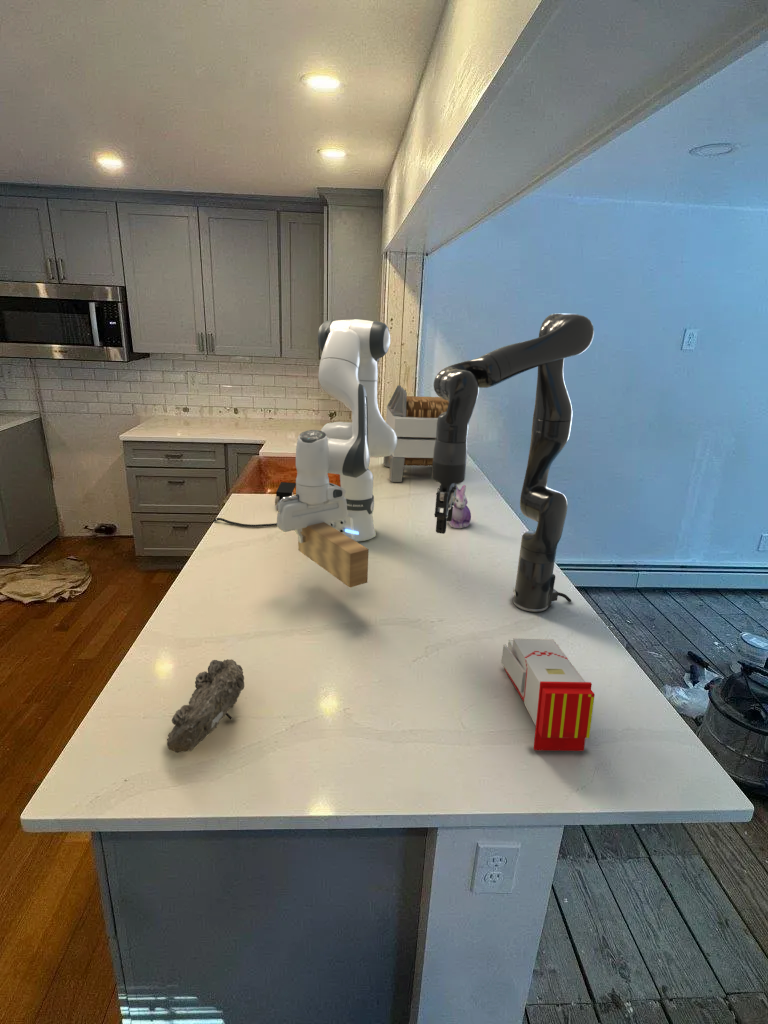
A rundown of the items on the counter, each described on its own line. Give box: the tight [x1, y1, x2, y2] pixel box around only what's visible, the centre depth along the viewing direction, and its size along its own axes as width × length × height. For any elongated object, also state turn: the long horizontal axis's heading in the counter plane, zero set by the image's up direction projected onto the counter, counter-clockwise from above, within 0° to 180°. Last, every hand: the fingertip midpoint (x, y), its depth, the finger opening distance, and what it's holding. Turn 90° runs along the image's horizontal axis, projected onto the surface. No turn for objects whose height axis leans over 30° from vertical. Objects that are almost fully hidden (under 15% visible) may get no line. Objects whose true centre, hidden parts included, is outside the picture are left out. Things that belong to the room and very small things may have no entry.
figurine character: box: [274, 481, 296, 506], centre depth 222 cm, size 7×8×15 cm
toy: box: [500, 637, 595, 752], centre depth 114 cm, size 12×13×30 cm
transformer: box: [383, 384, 449, 483], centre depth 268 cm, size 34×33×41 cm
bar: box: [297, 522, 369, 589], centre depth 149 cm, size 26×5×9 cm, turn 37°
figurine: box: [448, 484, 472, 529], centre depth 208 cm, size 9×10×15 cm
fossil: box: [166, 658, 245, 754], centre depth 106 cm, size 22×10×15 cm
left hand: (312, 539), depth 157 cm, fingers closed on bar, 5 cm apart
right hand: (444, 526), depth 133 cm, fingers open, 8 cm apart
